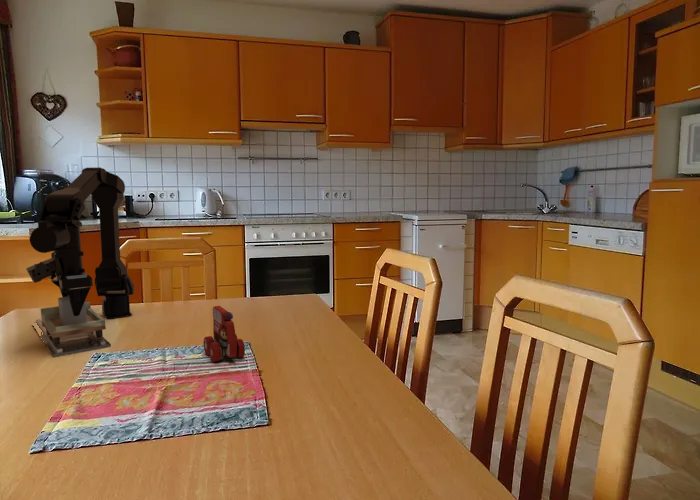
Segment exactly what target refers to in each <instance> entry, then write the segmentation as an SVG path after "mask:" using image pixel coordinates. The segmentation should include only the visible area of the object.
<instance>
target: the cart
mask: <svg viewBox="0 0 700 500" xmlns="http://www.w3.org/2000/svg"><path fill="white" fill-rule="evenodd" d="M85 303H86V316H87V322H85V323H78V324H72V325H65V326H63V325H62V324H61V323H60V317H59V305H57V306H50V307H49V306H48V307H42V308H40V315H41V316H40V317H41V319H40V320H41V321H42V327H45V328H46V333H47V336H48V335H51V336H52V338H53V343H54V345H60V338H59V337H62V336H68V335H74V334H80V333H86V332H92V331H96V337H97V338H101V337H102V336H103V330H106V329H107V327H106V319H104V318H103V317H102V316H101V315H100V314H98V313H97V312H96V311H95V310H94V309H93V308H92V307H91V302H90V301H87V302H86V301H85ZM103 337H104V336H103Z"/></svg>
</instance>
